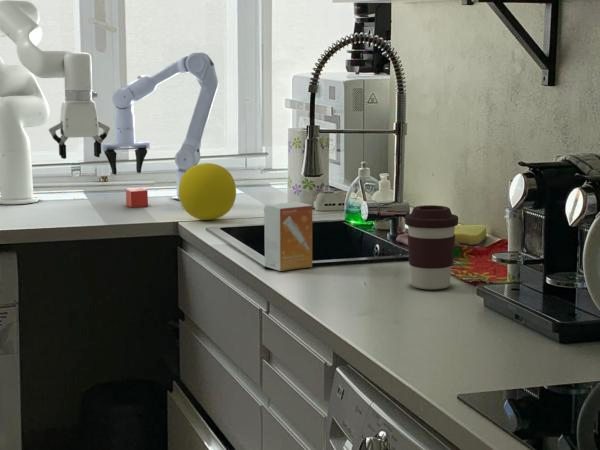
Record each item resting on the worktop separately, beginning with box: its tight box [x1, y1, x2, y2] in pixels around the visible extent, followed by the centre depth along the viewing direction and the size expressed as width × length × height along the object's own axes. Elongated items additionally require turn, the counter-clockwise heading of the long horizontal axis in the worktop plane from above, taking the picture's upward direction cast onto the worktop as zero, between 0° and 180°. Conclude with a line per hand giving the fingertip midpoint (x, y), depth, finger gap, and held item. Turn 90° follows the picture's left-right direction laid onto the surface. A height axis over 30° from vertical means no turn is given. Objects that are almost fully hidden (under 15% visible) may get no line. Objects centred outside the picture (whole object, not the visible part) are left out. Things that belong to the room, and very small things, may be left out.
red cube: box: [125, 187, 149, 208], centre depth 305 cm, size 5×5×5 cm
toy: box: [179, 162, 237, 221], centre depth 277 cm, size 15×15×15 cm
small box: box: [263, 201, 313, 272], centre depth 215 cm, size 8×6×13 cm
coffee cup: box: [404, 204, 459, 291], centre depth 197 cm, size 10×10×15 cm
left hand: (80, 157), depth 296 cm, fingers open, 9 cm apart
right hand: (126, 173), depth 318 cm, fingers open, 7 cm apart
